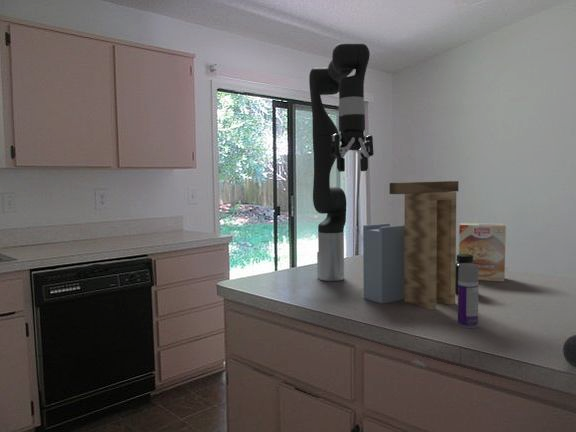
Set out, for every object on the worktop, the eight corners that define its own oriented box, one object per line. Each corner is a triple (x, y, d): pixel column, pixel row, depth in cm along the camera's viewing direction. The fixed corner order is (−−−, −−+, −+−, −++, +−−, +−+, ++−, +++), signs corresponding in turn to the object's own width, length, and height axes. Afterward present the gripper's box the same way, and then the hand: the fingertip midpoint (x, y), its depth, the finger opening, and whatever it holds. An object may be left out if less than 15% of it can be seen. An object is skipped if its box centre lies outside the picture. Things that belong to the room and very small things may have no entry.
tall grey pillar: (363, 297, 139) (363, 225, 137) (387, 293, 144) (387, 223, 142) (381, 303, 132) (381, 227, 130) (406, 298, 137) (406, 225, 135)
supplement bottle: (475, 291, 144) (476, 253, 143) (477, 296, 137) (477, 257, 136) (452, 289, 146) (453, 253, 145) (453, 295, 140) (453, 256, 139)
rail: (389, 194, 124) (389, 182, 123) (448, 191, 136) (448, 181, 136) (398, 194, 121) (398, 182, 120) (458, 191, 133) (458, 181, 133)
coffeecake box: (458, 279, 161) (458, 224, 160) (458, 275, 168) (459, 222, 166) (505, 282, 156) (506, 225, 154) (503, 277, 162) (504, 223, 161)
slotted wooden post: (404, 301, 134) (404, 192, 131) (428, 296, 139) (428, 191, 136) (431, 309, 125) (431, 193, 123) (455, 303, 130) (456, 192, 128)
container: (454, 322, 114) (454, 263, 113) (472, 321, 114) (473, 262, 113) (462, 328, 109) (463, 266, 108) (481, 327, 110) (482, 266, 108)
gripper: (361, 117, 138) (362, 171, 139) (324, 115, 130) (325, 172, 131) (379, 114, 131) (379, 170, 133) (340, 111, 124) (342, 171, 125)
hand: (352, 171), depth 132 cm, fingers open, 8 cm apart
